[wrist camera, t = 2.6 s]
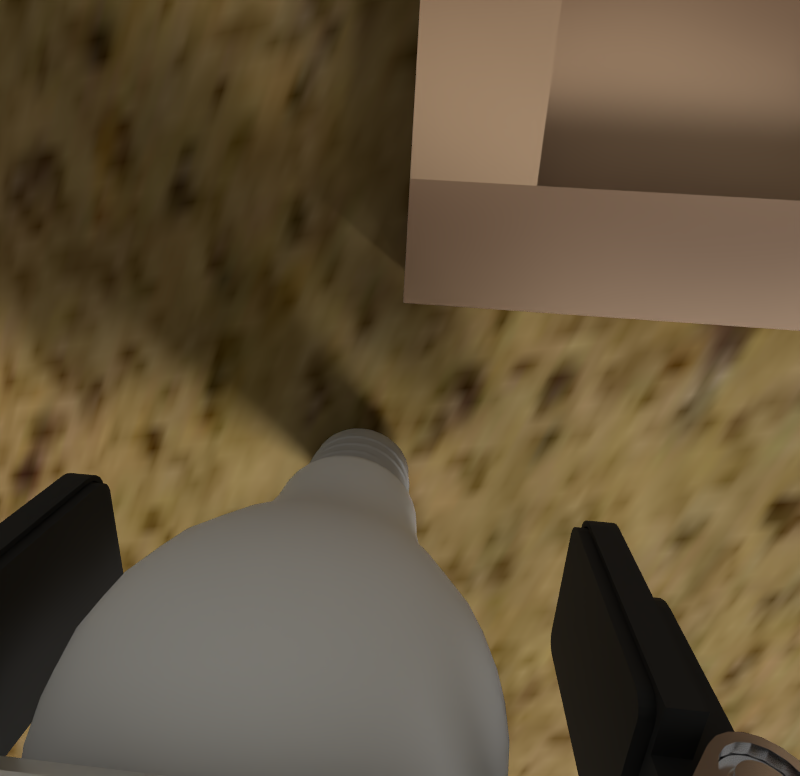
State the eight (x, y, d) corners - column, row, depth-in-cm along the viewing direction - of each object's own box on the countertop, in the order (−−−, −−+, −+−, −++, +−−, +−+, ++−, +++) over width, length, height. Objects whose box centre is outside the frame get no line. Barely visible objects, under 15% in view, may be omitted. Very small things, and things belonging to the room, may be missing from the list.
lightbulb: (252, 341, 14) (-286, 777, 4) (489, 360, 14) (616, 897, 3) (260, 538, 16) (-65, 1154, 6) (465, 558, 16) (498, 1250, 6)
